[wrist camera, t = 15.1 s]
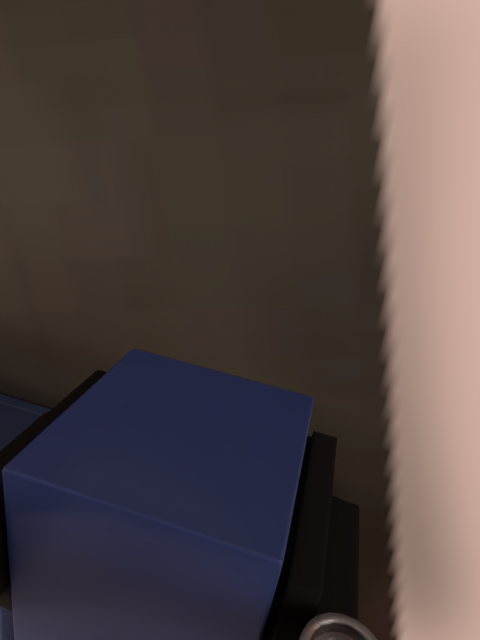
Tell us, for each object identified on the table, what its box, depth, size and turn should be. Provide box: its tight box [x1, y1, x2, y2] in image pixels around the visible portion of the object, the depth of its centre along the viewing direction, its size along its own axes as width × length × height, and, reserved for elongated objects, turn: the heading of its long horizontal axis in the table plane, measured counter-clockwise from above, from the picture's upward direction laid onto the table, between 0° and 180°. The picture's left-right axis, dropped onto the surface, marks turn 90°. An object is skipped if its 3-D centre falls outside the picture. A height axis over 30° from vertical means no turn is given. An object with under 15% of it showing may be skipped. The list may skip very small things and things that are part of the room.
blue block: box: [2, 349, 314, 640], centre depth 9 cm, size 4×4×4 cm
